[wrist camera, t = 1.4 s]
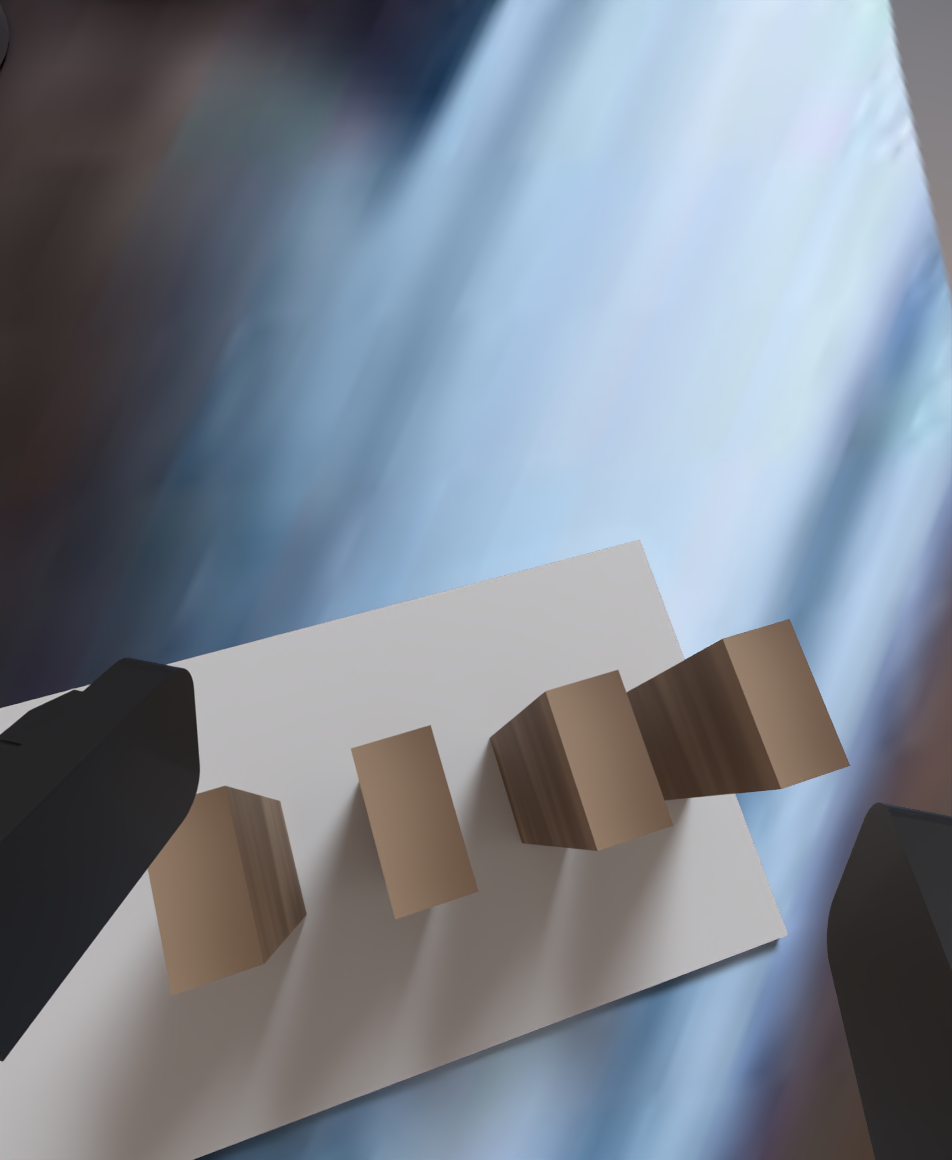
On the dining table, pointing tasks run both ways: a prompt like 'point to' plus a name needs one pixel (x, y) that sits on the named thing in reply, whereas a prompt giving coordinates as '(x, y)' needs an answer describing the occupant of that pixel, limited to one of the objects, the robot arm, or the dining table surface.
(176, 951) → the domino
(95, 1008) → the mat
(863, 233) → the dining table surface
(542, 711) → the domino
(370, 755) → the domino
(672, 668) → the domino
